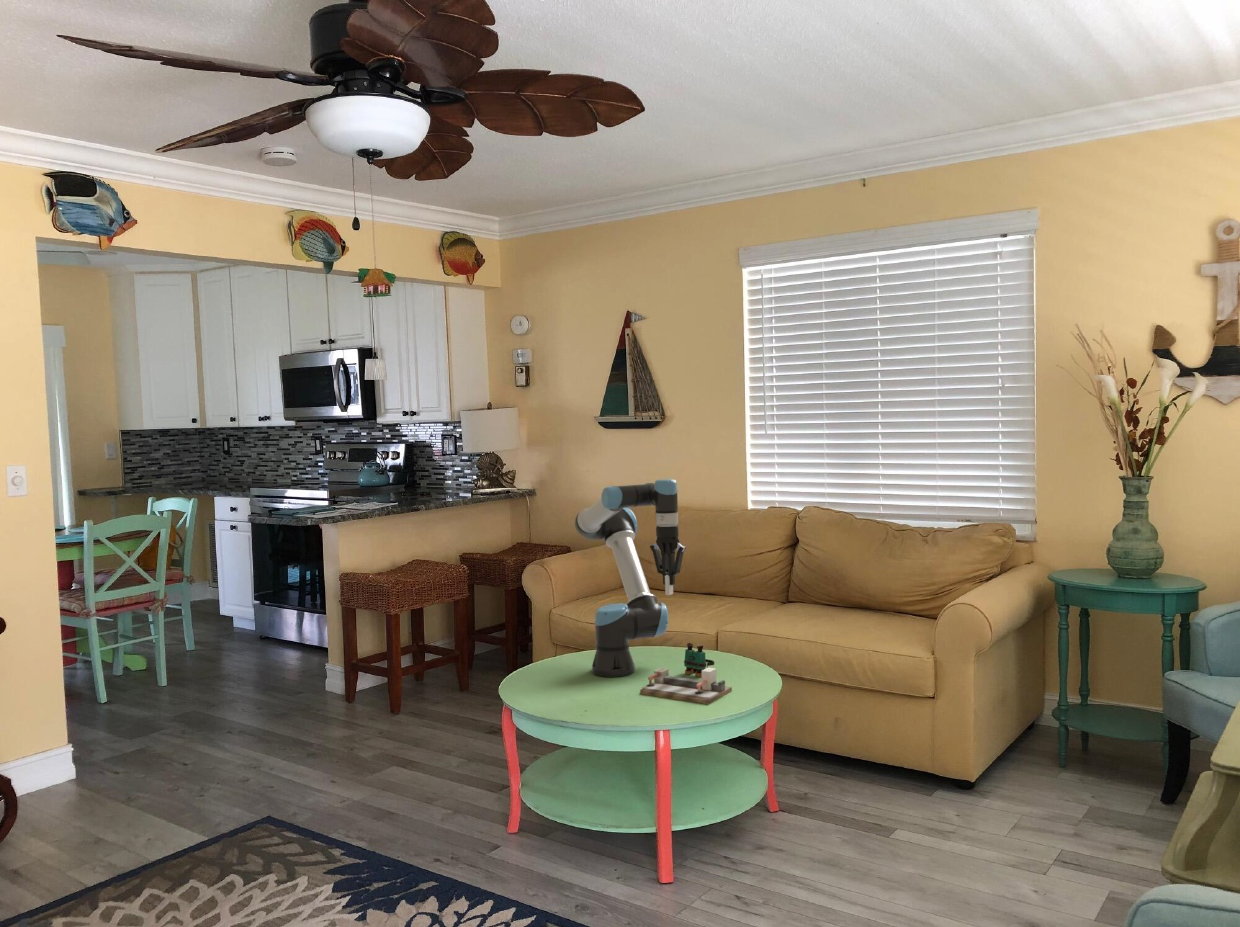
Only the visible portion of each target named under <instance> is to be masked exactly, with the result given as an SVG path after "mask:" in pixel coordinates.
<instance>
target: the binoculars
mask: <svg viewBox="0 0 1240 927" xmlns="http://www.w3.org/2000/svg"><path fill="white" fill-rule="evenodd" d="M686 647H687V648H686V649H685V651H684V652H685V654H684V660H683V665H684V667H685V670H684V674H685V675H691V674H693V673H694V672H695V677H702V670H704V669H706V668H709V667H711V666H714V665H715V661H714V660H711V659H706V652H705V651H703V650H704V645H699V646H696V649H697V650H695V649H693V647H694V644H693V643H691V642H687V643H686Z"/></svg>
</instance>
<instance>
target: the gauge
mask: <svg viewBox="0 0 1240 927" xmlns="http://www.w3.org/2000/svg"><path fill="white" fill-rule="evenodd" d="M669 674H670V672H669V668H663V667H659V668H658V669H655V670H653V675H651V676H648V677H647V680H648V684H646V685H645V686H643V687H642V688H641V689H639V690H640V692H639V693H640V694H641V695H645V696H646V695H647V696H655V697H658V698H664V699H665V698H666V699H673V700H679V701H686V702H691V703H696V704H697V703H698V704H705V705H710V704H712V703H714V702H715V701H717V700H719V699H720V698H722V697H724V696H725V695H727V694H729V693H731V692H732V691H733V689H732V688H733V687H732V686H726V680H723V679H722V680H720V681H718V682H717V683H715V682H713V683H712V684H711V691H710V690H703V689H702V686H701V687H700V692H698V687H697V684H698V683H700V682H702V679H701V680H700V679H693V678H686V677H679V676H672V675H669ZM652 680H653V681H652Z"/></svg>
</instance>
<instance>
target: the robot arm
mask: <svg viewBox="0 0 1240 927" xmlns="http://www.w3.org/2000/svg"><path fill="white" fill-rule="evenodd" d="M678 493H679V491H678V484H677V480H676V479H673V478H661V479H657V480H655V481H654V483H653V482H650V483H649V482H647V483H644V484H631V485H612V486H606V487H604V488H603V489H602V492H601V497H600V499H598V500H597V501H596V502H594V503H593V504H592V505H591V506H590V507H586V508H583V509H582V510H580V511H579V512H578V514H576V516H575V518H574V527H575V531H576V532H577V533H578V535H580V536H581V537H583V538H584V539H587V540H590V541H598V540H599V541H600V540H604V542H605V545H606V547H608V548H611V550H612V555H613V558H614V560H615V563H616V566H617V569H618V573H619V575H620V578H621V582H622V585H623V586H622V587H623V588H624V591H625V595H626V597H627V603H623V602H620V603H619V602H618V603H609V604H606V605H602V606H600V607H599V608H598V609H597V610H596V611H595V616H594V625H595V626H594V627H595V647H596V648H595V654H594V658H593V661H592V665H591V673H592V674H593V675H594V676H598V677H605V678H617V677H625V676H629V675H632V674H633V673H634V672H635V671H636V670H635V666H636V665H635V662H634V659H633V656H632V653H631V651H630V641H632V640H639V639H647V638H655V637H660V636H662V635H665V633H666V631H667V629H668V625H669V612H668V607H667V606H666V604H665V603H664V602H659V601H658V599H657V598H658V597H657V596H656V595H655V594H652V593H651V591H650V588H649V585H648V582H647V579H646V575H645V573H644V570H643V566H642V564H641V561H640V558H639V555H638V552H637V548H636V545H635V543H634V540H635V539H636V534H637V533H638V524H637V523H638V521H637V517H636V515H635V513H634V511H632V509H630V508H637V507H639V508H640V507H650V506H654V507H655V525H656V528H655V532H656V533H655V534H656V535H655V536H656V540H655V543H653V544H651V545H649V548H650V550H651V552H652V555H653V559H654V564H655V567H656V572H657V573H658V574H661V575H662V583H663V585H664V589H665V596H671V595H673V594H674V586H675V585H676V575H677V574H680V572H681V568H682V563H683V556H684V553H685V552H686V549H687V547H686V545H682V544H681V543H680V540H679V525H678V524H679V510H678V508H679V506H678Z"/></svg>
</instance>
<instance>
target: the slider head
mask: <svg viewBox="0 0 1240 927" xmlns="http://www.w3.org/2000/svg"><path fill="white" fill-rule="evenodd" d="M701 681H702V682H700V683H698V684H697V687H698V692H700V687H701V686H702V689H703V690H710V691H711V684H712V683H713V682H715V683H718V682H717V668H715V667H714V668H713V667H706V668H705V669H704V670H702V676H701Z"/></svg>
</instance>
